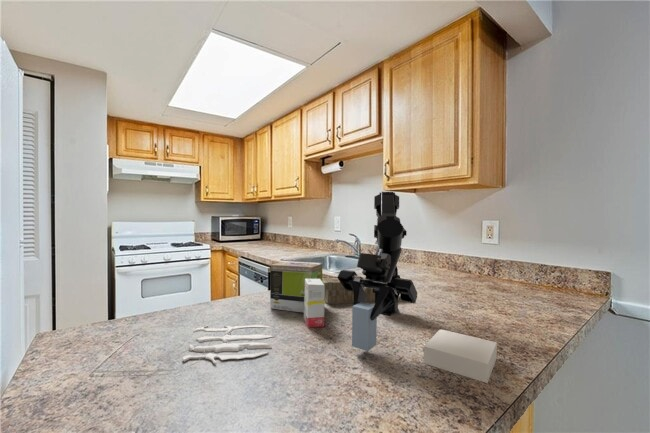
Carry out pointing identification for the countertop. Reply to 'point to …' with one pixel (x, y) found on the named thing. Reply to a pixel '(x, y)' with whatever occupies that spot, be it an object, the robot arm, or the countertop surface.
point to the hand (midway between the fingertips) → (362, 317)
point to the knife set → (219, 345)
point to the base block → (461, 354)
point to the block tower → (342, 292)
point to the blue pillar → (363, 326)
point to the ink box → (314, 303)
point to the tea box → (291, 284)
